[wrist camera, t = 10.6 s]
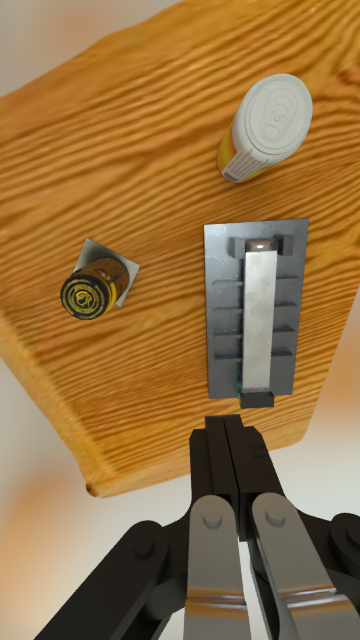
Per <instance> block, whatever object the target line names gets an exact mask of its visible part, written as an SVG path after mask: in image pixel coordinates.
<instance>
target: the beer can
mask: <svg viewBox="0 0 360 640" xmlns="http://www.w3.org/2000/svg"><path fill="white" fill-rule="evenodd" d="M312 109H313V108H312V99H311V96H310V93H309V91H308V89H307V87H306V86H305V84H304V83H303V82H302V81H301V80H300V79H298V78H297V77H295V76H293V75H290V74H276V75H271V76H268V77H265V78H263V79H261V80H260V81H258V82H257V83H255V84H254V85H253V86H252V87H251V88H250V89H249V91H248V92H247V93H246V95H245V97H244V98H243V100H242V102H241V104H240V106H239V108H238V110H237V112H236V114H235V116H234V118H233V120H232V121H231V123H230V125H229V127H228V129H227V131H226V133H225V135H224V137H223V139H222V141H221V143H220V145H219V148H218V151H217V164H218V168H219V170H220V172H221V174H222V175H223V176H224V177H225V178H226V179H228V180H229V181H231V182H235V183H243V182H246V181H249V180H250V179H252V178H254V177H255V176H257V175H259V174H261V173H262V172H264V171H266V170H267V169H269V168H271V167H272V166H274V165H276V164H277V163H279V162H281V161H282V160H284V159H286V158H287V157H289V156H290V155H292V154H293V153H294V152H295V151H296V150H297V149H298V148H299V147H300V146H301V144H302V143H303V141H304V139H305V137H306V135H307V133H308V130H309V127H310V123H311V119H312Z"/></svg>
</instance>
